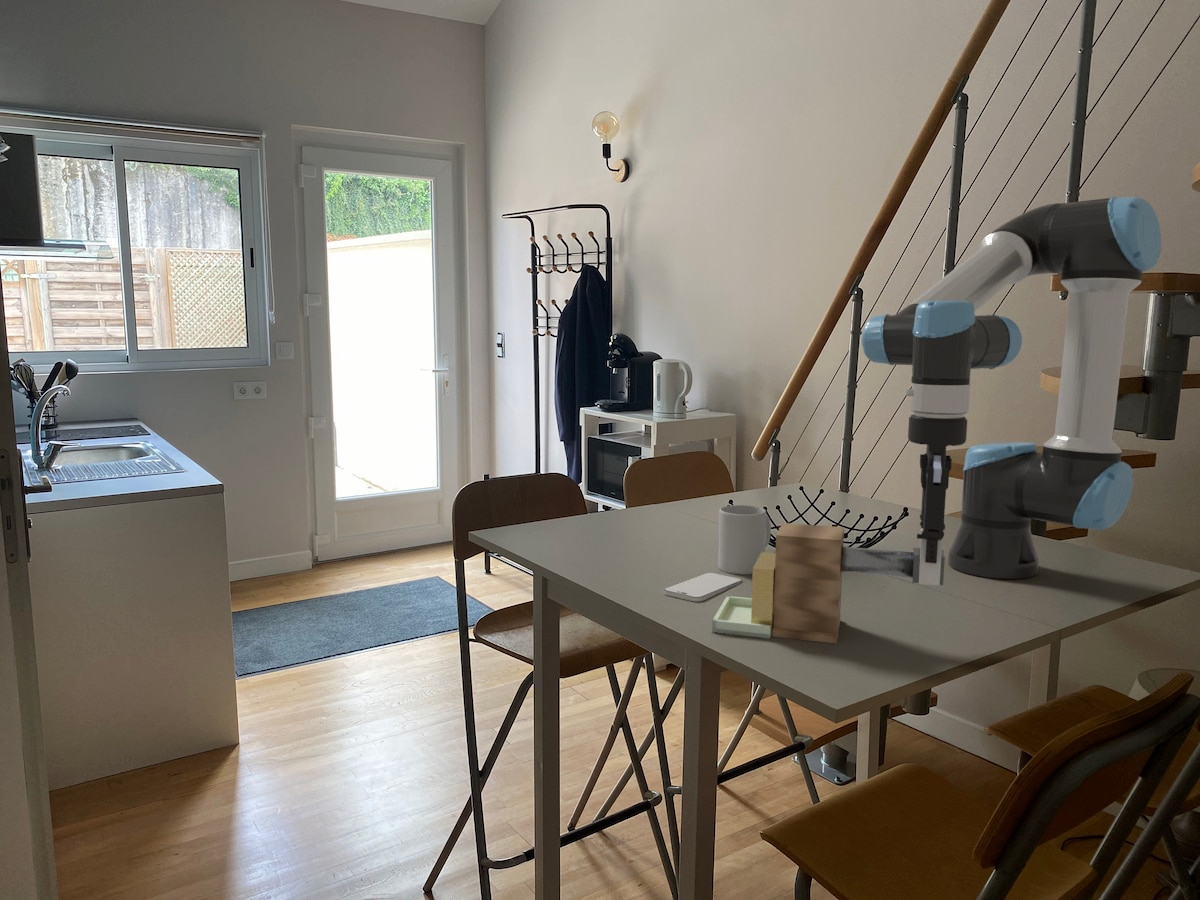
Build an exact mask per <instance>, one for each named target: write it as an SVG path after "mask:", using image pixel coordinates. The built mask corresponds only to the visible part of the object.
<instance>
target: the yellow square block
mask: <svg viewBox="0 0 1200 900" xmlns="http://www.w3.org/2000/svg"><path fill="white" fill-rule="evenodd" d="M775 557H776V552H775V553H774V552H767V551H765V552H761V554H760V556H759V558H758V560H757V561H756V563H755V565H754V567H753V574H752V582H751V598H752V613H751V623H754V624H764V625H771V631H772V630H773V622H774V589H775Z"/></svg>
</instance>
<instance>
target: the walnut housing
mask: <svg viewBox="0 0 1200 900" xmlns="http://www.w3.org/2000/svg"><path fill="white" fill-rule="evenodd" d="M844 537H845V527H843V526H831V525H817V524H816V525H815V524H804V523H791V522H790V523H789V522H782V523H781V525H780V527H779V529H778V531H777V533H776V535H775V553H776V557H775V589H774V622H773V630H772V635H771V637H772V638H773V637H774V638H782V639H783V638H784V639H793V640H800V641H801V640H802V641H809V642H810V641H811V642H819V643H829V644H837V642H838V636H839V630H840V624H841V607H842V605H841V604H842V586H843V585H842V581H843V572H841V571H840V568H841V547H844Z"/></svg>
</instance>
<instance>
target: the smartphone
mask: <svg viewBox="0 0 1200 900" xmlns="http://www.w3.org/2000/svg"><path fill="white" fill-rule="evenodd" d="M742 582H743V580H742V578H737V577H733V576H729V575H728V576H727V575H724V574H719V573H715V572H705V573H703V574H700V575H698V576H694V577H692V578H690V579H687V580H684V581H682V582H679V583H676V584H673V585H670V586H668V587H665V588H664V589H663V594H664V595H666V596H669V597H673V598H676V599H682V600H686V601H690V602H694V603H695V602H696V603H697V602H698V603H700V602H703V601H705V600H707V599H710V598H711V597H714V596H716V595H718V594H720V593H723V592H724V591H727V590H729V589H731V588H733V587H735V586H737V585H739V584H742Z"/></svg>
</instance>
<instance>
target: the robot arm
mask: <svg viewBox="0 0 1200 900" xmlns="http://www.w3.org/2000/svg"><path fill="white" fill-rule="evenodd" d="M1161 249H1162V233H1161V226H1160V221H1159V218H1158V215H1157V212H1156V211H1155V209H1154V207H1153V205H1152V204H1151V203H1150V201H1147V200H1146V199H1145V198H1143V197H1138V196H1125V197H1124V196H1123V197H1122V196H1121V197H1120V196H1119V197H1118V196H1117V197H1115V196H1112V197H1107V198H1098V199H1089V200H1080V201H1073V202H1072V201H1071V202H1063V203H1051V204H1045V205H1041V206H1038V207H1036V208H1033V209H1030V210H1028V211H1025V212H1024V213H1022V214H1020V215H1018V216H1016V217H1014V218H1012V219H1010V220H1008V221H1007V222H1005V223H1003V224H1002V225H1000V226H999V227H997V228H996V229H994V230H992V232H990V233H989V234H988V235H986V236H985V237H984V238H983V239H982V240H981V242H980V243H979V245H978V246H977V251H976V252H974V253H973V254H972V255H970V256H969V257H968V258H966V259H965V260H964V261H963V262H962V263H960V264H959V265H957V266H956V267H955V268H954V269H952V270H951V271H949V273H947V274H946V275H944V277H942V278H941V279H940V280H939V281H937V282H936V283H935V284H934V285H932V286H931V287H930V288H929V289H927V290H926V291H925V292H923V293H922V294H921V295H920V296H918V297H917V298H916V299H915V300H913V301H912V302H910V303H909V304H908V305H906V307H904V308H903V309H901V310H900V311H899V312H898V313H896V314H893V315H891V314H884V315H876V316H873V317H871V318H870V319H868V321H866V323H865V325H864V327H863V330H862V334H861V346H862V350H863V354H864V355H865V357H866V358H867V359H868V360H869V361H870V362H871V363H872V362H873V363H878V364H884V365H885V364H886V365H889V366H893V365H895V366H896V365H899V366H901V365H902V366H911V368H912V369H911V381H910V382H911V385H910V386H911V388H912V389H910V388H909V389H906V391H905V395H906V396H907V397H911V398H910V401H909V403H910V405H909V410H910V411H911V412H913V413H914V414H911V415H910V416H909V417H908V430H907V431H908V432H907V439H908V441H909V442H911V443H913V444H917V445H926V452H925V453H922V454H921V453H920V455H919V467H920V484H921V488H922V493H921V495H922V497H921V510H920V512H921V514H919V518H920V523H919V526H920V529H919V533H917V534H916V539H917V540H918V539H919V545H918V546H919V547H918V548H921V550H920V567H919V583H918V584H919V585H926V586H927V585H928V586H941V585H940V570H941V554H942V550H943V539H944V536H945V532H944V530H945V529H946V525H945V511H946V499H947V498H946V497H947V495H946V494H947V490H948V488H949V482H950V481H949V479H950V471H951V470H952V458H951V455H947V447H949V446H953V447H957V446H961V445H964V444H965V443H966V441H967V432H968V419H967V417H965V416H964V415H966V414H968V412H969V408H970V395H971V393H970V392H971V391H970V390H971V384H970V382H971V370H975V369H976V370H979V369H989V370H994V369H996V368H998V367H999V368H1001V367H1004V366H1006V365H1009V364H1010V363H1011V362H1013V361H1014V360H1015V359H1016V358H1017V356H1018V355H1019V353H1020V351H1021V350H1022V349H1021V348H1022V344H1023V338H1022V333H1021V329H1020V328H1019V326H1018V325H1017V323H1015V321H1014V320H1012V319H1010V318H1008V317H1006V316H1000V315H997V314H986V315H983V314H982V315H976V313H975V312H976V311H978V310H979V309H980V308H982V306H984V305H985V304H987V302H988V301H990V300H991V299H992V298H993V297H994V296H995V295H998V293H999V292H1001V291H1002V290H1003V288H1005V287H1007V286H1008V285H1014V284H1017V283H1020V282H1022V281H1023V280H1024V279H1025V278H1026V277H1029V276H1035V275H1044V274H1061V277H1060V284H1061V285H1062V286H1063V287H1064V288H1065V290H1066V291H1068V293H1069V296H1068V303H1067V304H1068V306H1067V314H1066V316H1067V317H1066V326H1065V333H1064V344H1063V351H1062V352H1063V353H1062V361H1061V372H1060V381H1059V389H1058V399H1057V408H1056V409H1057V411H1056V418H1055V427H1054V434H1053V436H1052V437H1050V438H1049V439H1048V440H1047V441H1045V442H1044V443H1043V445H1042V446H1043V447H1042V452H1038V449H1039V448H1038V447H1037V444H1036V443H1034V442H1030V441H1028V442H1025V441H1021V442H1020V441H1019V442H1017V441H1016V442H1013V441H1011V442H995V443H984V444H983V443H982V444H978V445H973V446H971V447H970V448H968V449H967V451H966V453H965V459H964V465H963V468H962V472H963V476H962V477H963V478H962V479H963V481H962V496H961V497H962V499H961V515H960V524H959V527H958V528H957V531H956V534H955V536H954V539H953V542H952V543H951V545H950V549H949V551H948V559H947V560H948V565H949V566H950V567H951V568H953V569H955V570H957V571H959V572H962V573H964V574H969V575H974V576H976V577H977V576H978V577H984V578H991V579H992V578H993V579H1002V580H1004V579H1006V580H1008V579H1010V580H1012V579H1015V580H1016V579H1018V580H1019V579H1027V578H1028V579H1029V578H1031V577H1034V575H1035V576H1037V575H1038V573H1039V557H1038V553H1037V549H1036V546H1035V543H1034V538H1033V535H1032V531H1031V527H1032V526H1031V524H1032V523H1031V521H1032V520H1037V521H1043V522H1047V523H1048V522H1049V523H1053V524H1061V525H1066V526H1071V527H1074V528H1076V529H1079V530H1080V529H1089V530H1096V531H1101V530H1102V531H1103V530H1106V529H1109V528H1110V527H1112V526H1114V525H1115V524H1116V523H1117V522H1118V521H1119V519H1120V518H1121V516H1122V515H1123V513H1124V512H1125V510H1126V508H1127V506H1128V503H1129V501H1130V498H1131V494H1132V492H1133V486H1134V475H1133V474H1134V473H1133V469H1132V467H1131V465H1129V464H1128V463H1126V462H1124V461H1121V460H1122V450H1123V449H1121V448H1120V447H1119V445H1117V443H1115V441H1114V439H1113V437H1114V436H1113V435H1114V430H1115V429H1114V428H1115V419H1116V411H1117V404H1118V403H1117V402H1118V395H1119V393H1118V392H1119V385H1120V376H1121V367H1122V358H1123V350H1124V349H1123V348H1124V341H1125V332H1126V324H1127V323H1126V322H1127V315H1128V308H1129V307H1128V306H1129V296H1130V293H1132V291H1134V289H1136V288H1137V287H1138V286H1139V285H1141V284H1142V279H1143V278H1142V277H1143V272H1148V271H1149V270H1152V269H1154V268H1155V267H1156V265H1157V264H1158V262H1159V260H1158V259H1159V258H1160V257H1161V256H1160V255H1161Z"/></svg>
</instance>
